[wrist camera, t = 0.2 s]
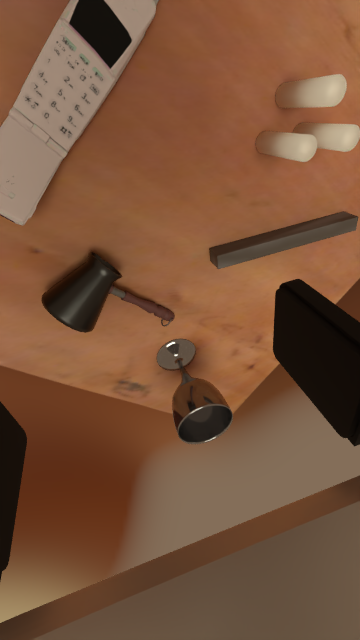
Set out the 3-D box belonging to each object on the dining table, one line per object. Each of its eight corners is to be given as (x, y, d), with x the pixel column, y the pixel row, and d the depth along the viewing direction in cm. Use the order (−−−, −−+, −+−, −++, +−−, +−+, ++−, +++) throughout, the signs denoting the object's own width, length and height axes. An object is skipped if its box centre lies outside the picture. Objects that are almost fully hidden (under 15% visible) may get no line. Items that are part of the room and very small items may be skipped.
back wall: (209, 248, 43) (217, 256, 40) (343, 211, 46) (358, 216, 43) (210, 260, 44) (218, 269, 41) (341, 224, 47) (355, 230, 44)
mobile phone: (-45, 189, 26) (126, -125, 20) (-27, 177, 31) (116, -81, 24) (23, 230, 30) (189, -25, 23) (30, 214, 34) (169, -3, 28)
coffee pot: (36, 289, 39) (75, 237, 38) (134, 340, 51) (166, 302, 50) (43, 317, 33) (89, 257, 32) (152, 367, 45) (187, 324, 44)
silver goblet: (206, 347, 53) (244, 414, 41) (179, 377, 56) (207, 448, 44) (173, 330, 49) (204, 398, 37) (145, 363, 51) (166, 437, 39)
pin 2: (292, 124, 37) (341, 127, 30) (310, 121, 37) (362, 122, 30) (291, 146, 38) (337, 153, 31) (308, 143, 38) (357, 149, 32)
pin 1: (255, 133, 36) (297, 137, 29) (273, 129, 36) (318, 132, 29) (255, 155, 37) (295, 164, 31) (272, 151, 38) (315, 159, 31)
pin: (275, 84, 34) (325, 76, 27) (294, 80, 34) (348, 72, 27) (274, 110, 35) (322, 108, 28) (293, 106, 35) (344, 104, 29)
